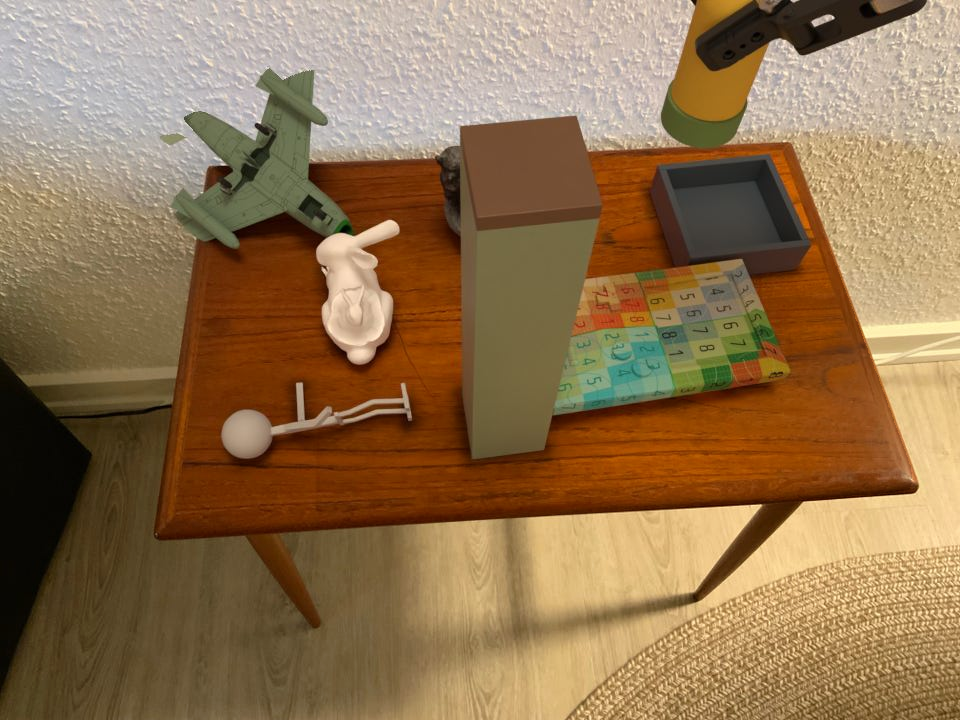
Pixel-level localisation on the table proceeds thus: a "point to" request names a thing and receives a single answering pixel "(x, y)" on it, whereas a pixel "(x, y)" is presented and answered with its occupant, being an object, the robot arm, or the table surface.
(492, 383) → the plinth
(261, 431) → the figurine
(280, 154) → the airplane
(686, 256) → the basket
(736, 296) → the puzzle game
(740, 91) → the corn toy
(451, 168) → the cat statue
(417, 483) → the table surface
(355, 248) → the rabbit figurine
